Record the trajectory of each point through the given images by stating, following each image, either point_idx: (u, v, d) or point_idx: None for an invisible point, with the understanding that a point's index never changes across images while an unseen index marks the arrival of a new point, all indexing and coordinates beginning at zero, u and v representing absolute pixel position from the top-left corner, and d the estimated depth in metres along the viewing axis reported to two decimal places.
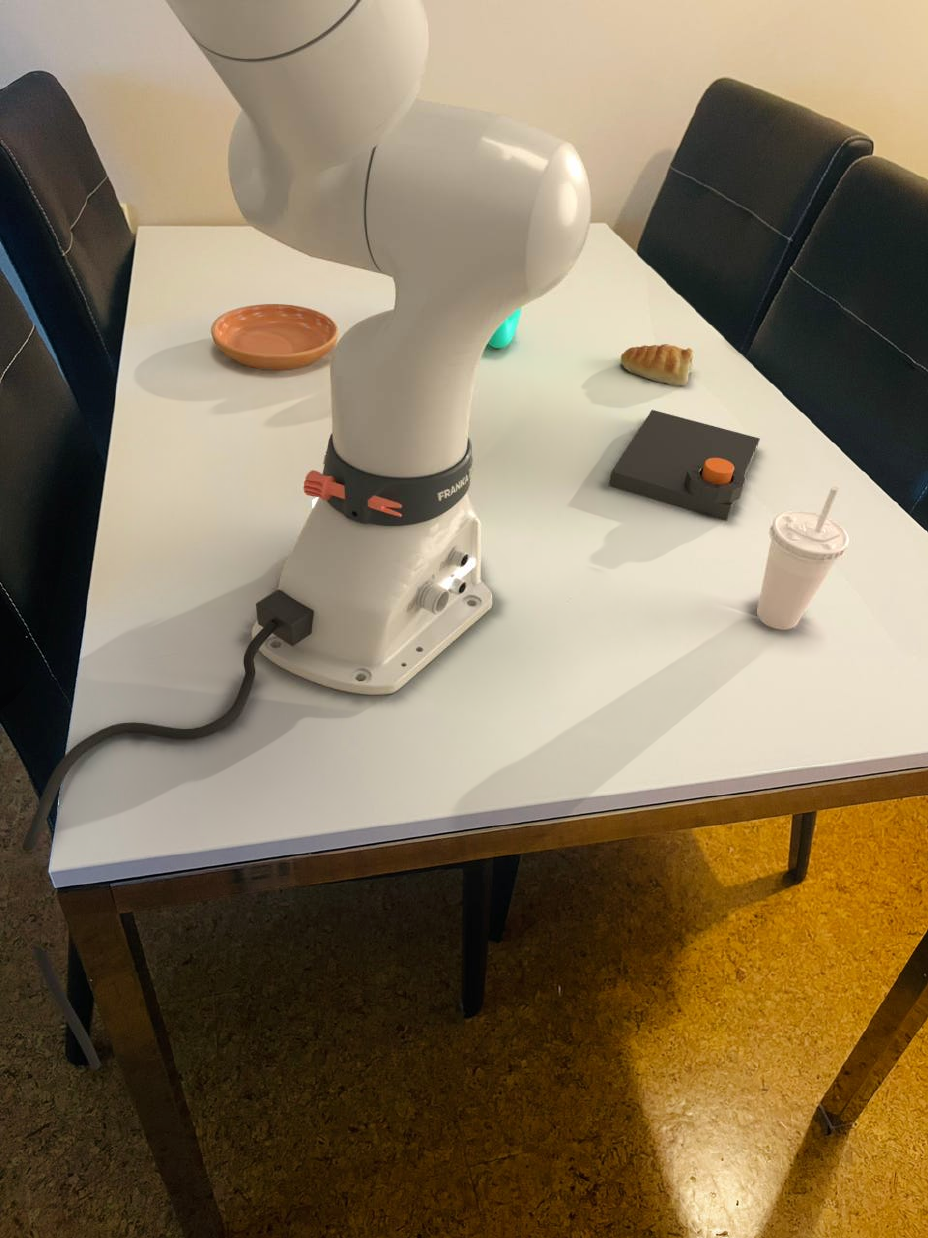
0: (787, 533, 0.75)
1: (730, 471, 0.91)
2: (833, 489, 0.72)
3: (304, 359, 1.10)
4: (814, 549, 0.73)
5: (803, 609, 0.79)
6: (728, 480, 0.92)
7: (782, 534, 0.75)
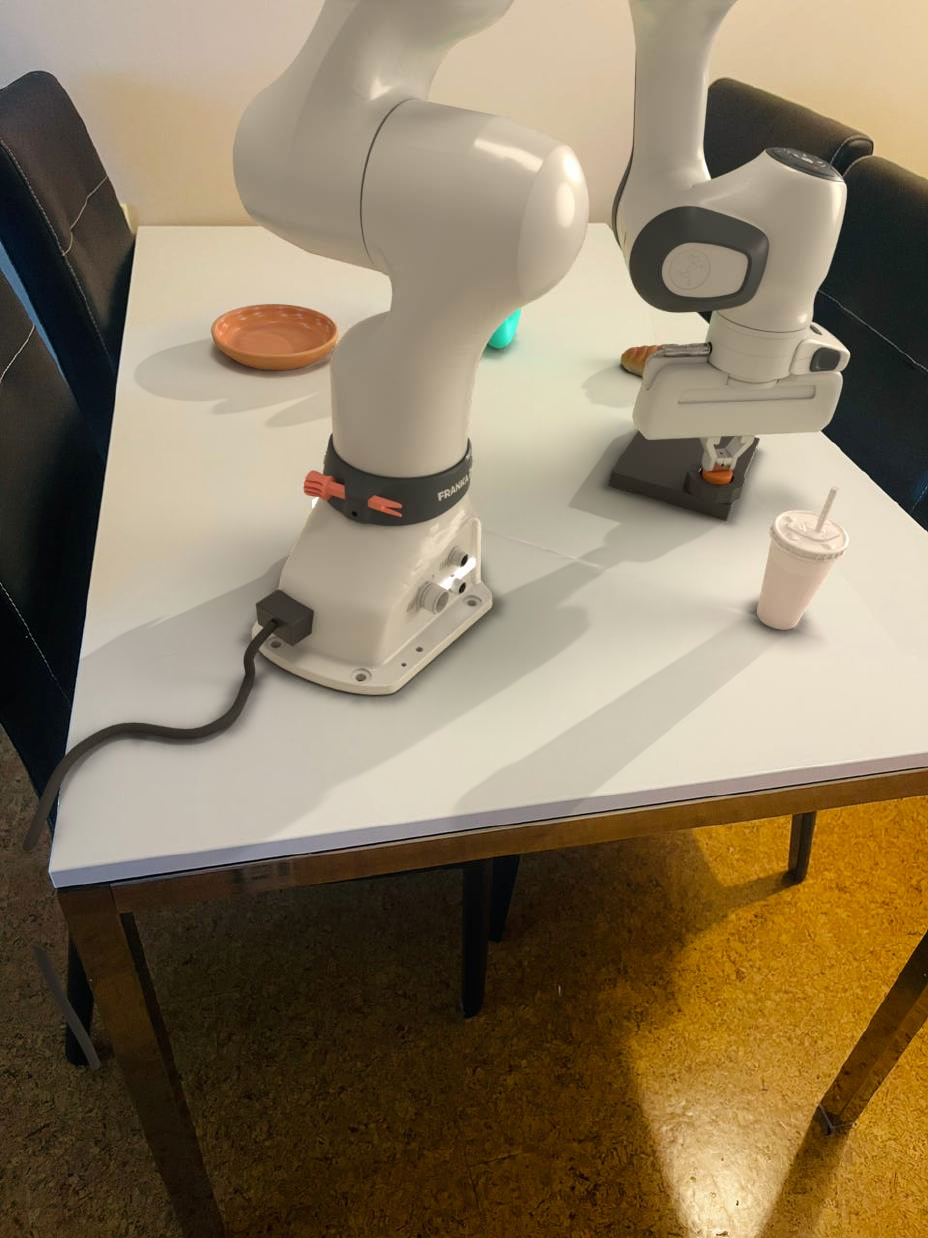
0: (787, 533, 0.75)
1: (728, 477, 0.92)
2: (833, 489, 0.72)
3: (304, 359, 1.10)
4: (814, 549, 0.73)
5: (803, 609, 0.79)
6: None
7: (782, 534, 0.75)
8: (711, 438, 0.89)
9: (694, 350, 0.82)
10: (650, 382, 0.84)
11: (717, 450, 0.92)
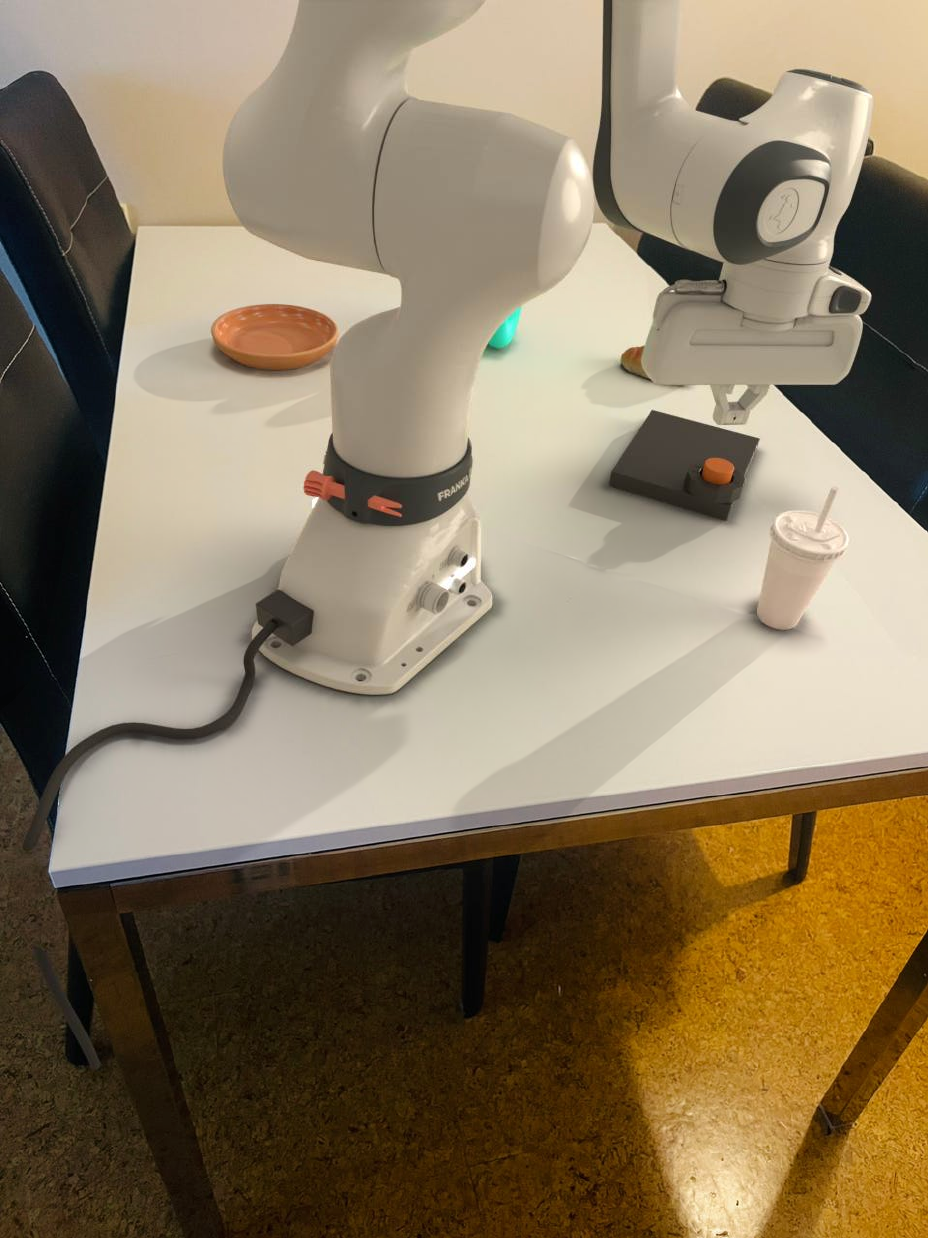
0: (787, 533, 0.75)
1: (730, 471, 0.91)
2: (833, 489, 0.72)
3: (304, 359, 1.10)
4: (814, 549, 0.73)
5: (803, 609, 0.79)
6: (728, 480, 0.92)
7: (782, 534, 0.75)
8: (724, 387, 0.84)
9: (708, 287, 0.78)
10: (660, 321, 0.80)
11: (729, 403, 0.88)
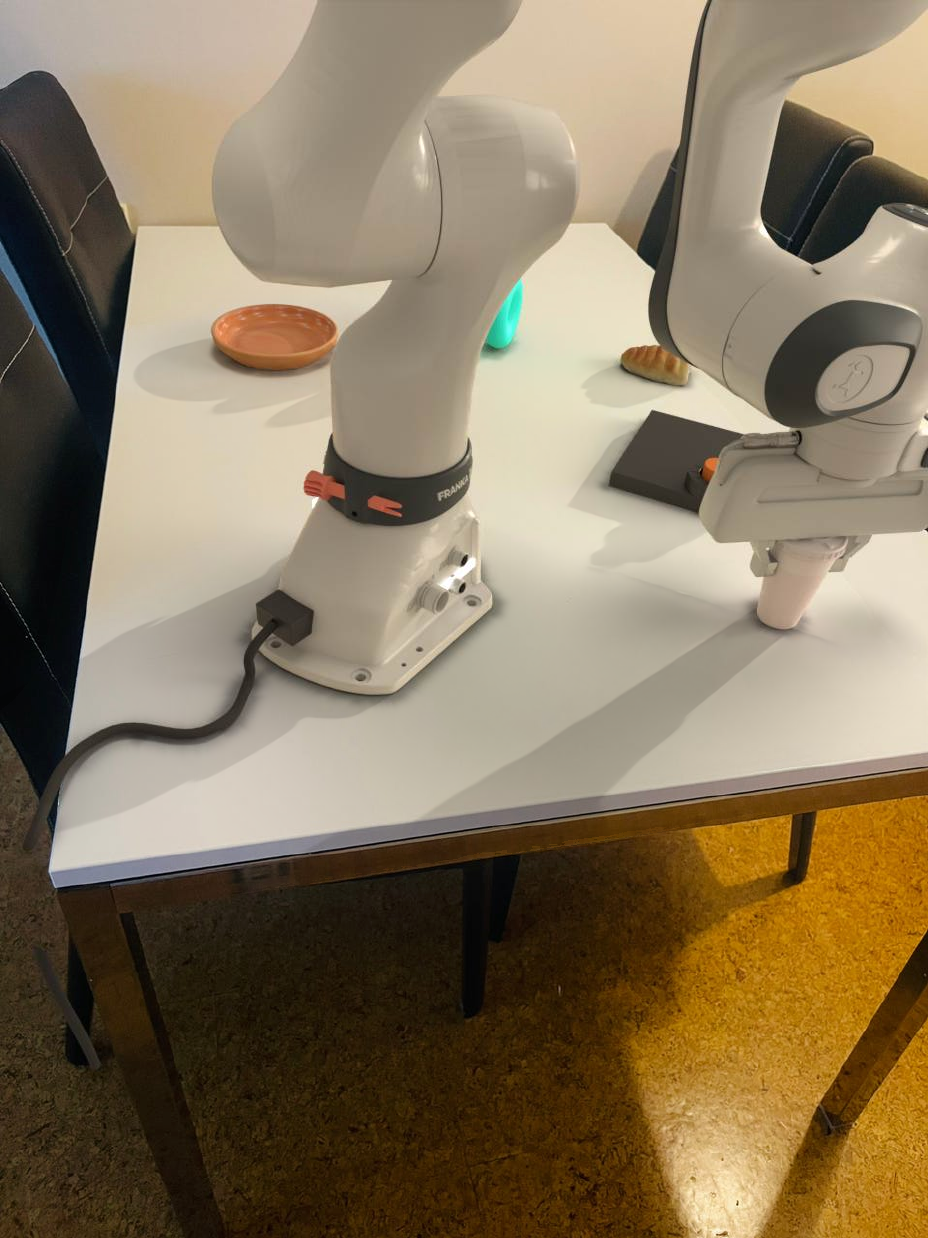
0: None
1: None
2: None
3: (304, 359, 1.10)
4: (813, 549, 0.73)
5: (803, 609, 0.79)
6: None
7: None
8: (764, 541, 0.74)
9: (780, 441, 0.68)
10: (724, 477, 0.69)
11: (769, 552, 0.77)
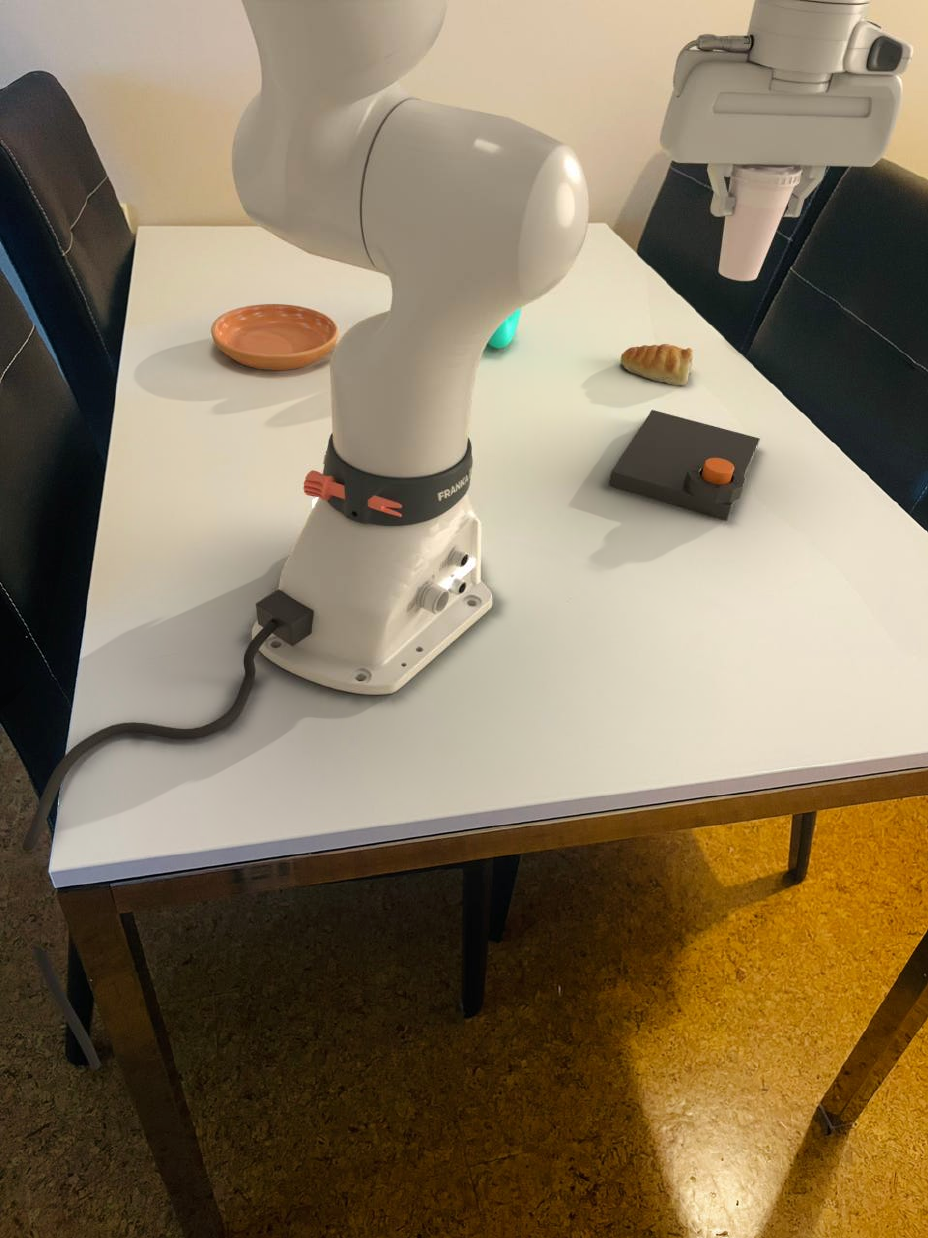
0: (743, 165, 0.79)
1: (730, 471, 0.91)
2: None
3: (304, 359, 1.10)
4: (768, 173, 0.77)
5: (761, 255, 0.83)
6: (728, 480, 0.92)
7: (739, 165, 0.79)
8: (721, 167, 0.78)
9: (733, 42, 0.72)
10: (681, 85, 0.73)
11: (728, 192, 0.81)
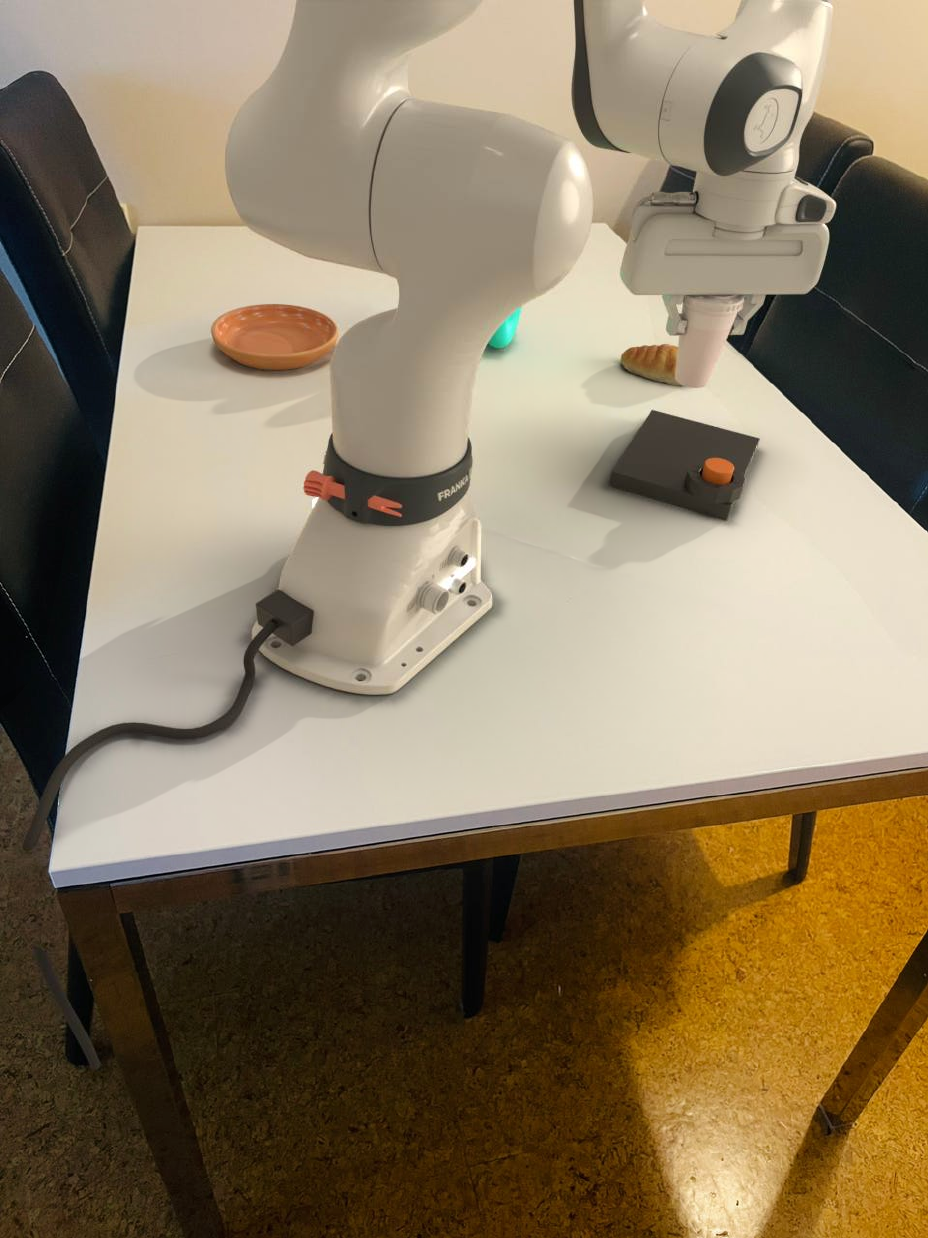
0: None
1: (730, 471, 0.91)
2: None
3: (304, 359, 1.10)
4: (714, 302, 0.89)
5: (711, 366, 0.94)
6: (728, 480, 0.92)
7: None
8: (674, 297, 0.89)
9: (680, 198, 0.83)
10: (637, 232, 0.85)
11: (681, 314, 0.92)
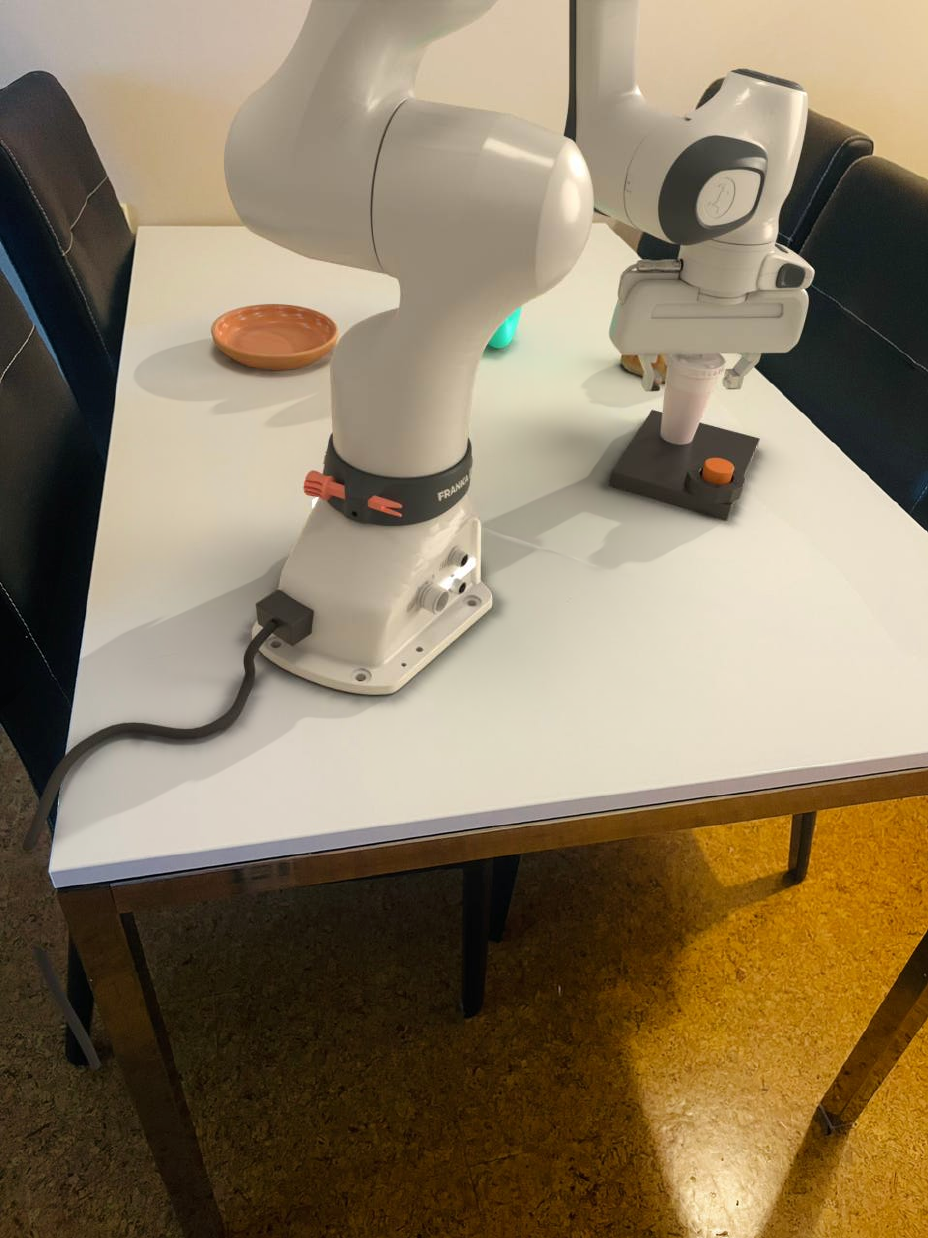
0: (677, 358, 0.95)
1: (730, 471, 0.91)
2: None
3: (304, 359, 1.10)
4: (697, 367, 0.93)
5: (694, 425, 0.99)
6: (728, 480, 0.92)
7: (673, 358, 0.95)
8: (648, 356, 0.93)
9: (666, 265, 0.87)
10: (624, 297, 0.89)
11: (656, 371, 0.96)
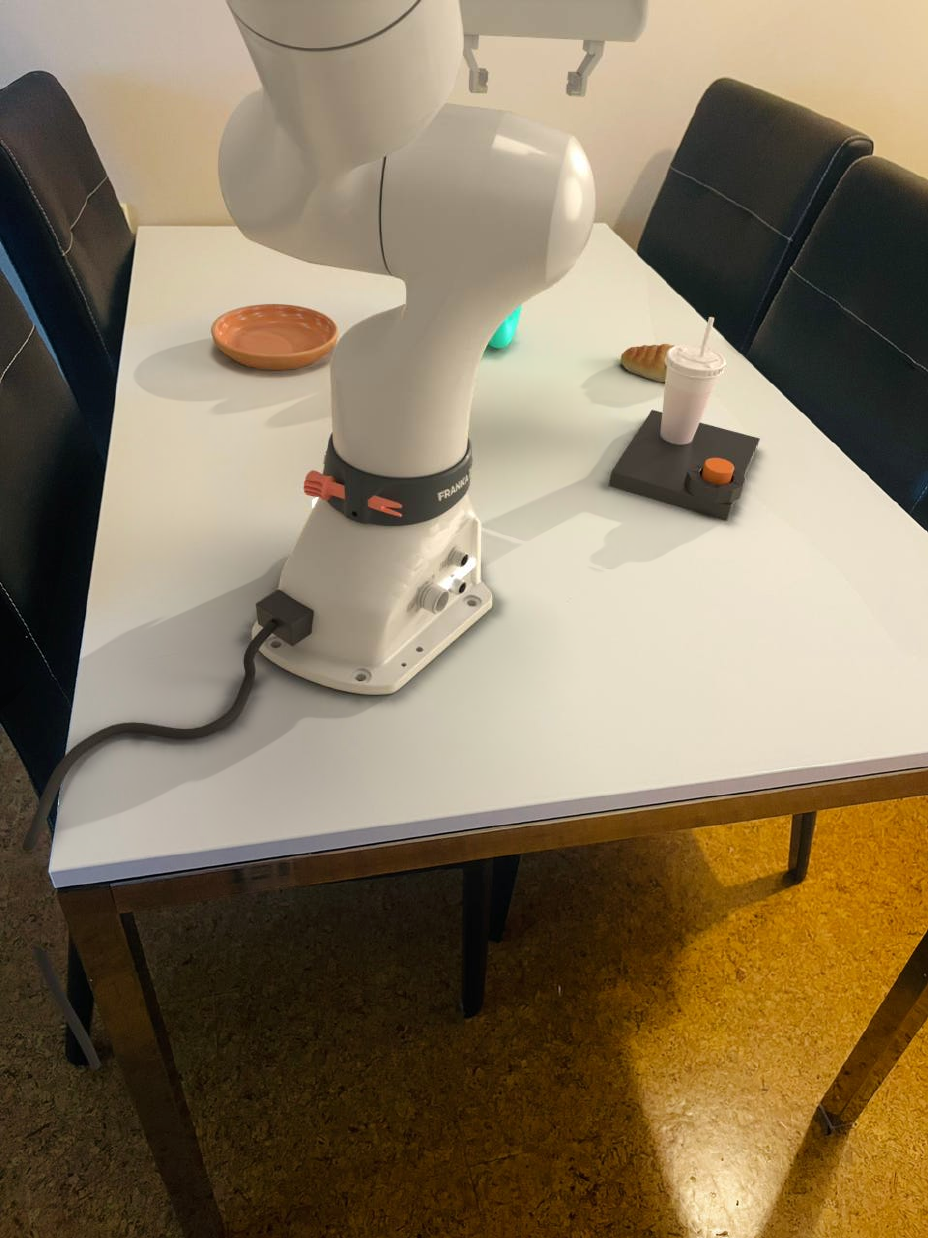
0: (677, 358, 0.95)
1: (730, 471, 0.91)
2: (710, 318, 0.92)
3: (304, 359, 1.10)
4: (697, 367, 0.93)
5: (694, 425, 0.99)
6: (728, 480, 0.92)
7: (673, 358, 0.95)
8: (467, 39, 0.79)
9: None
10: None
11: (483, 68, 0.82)
